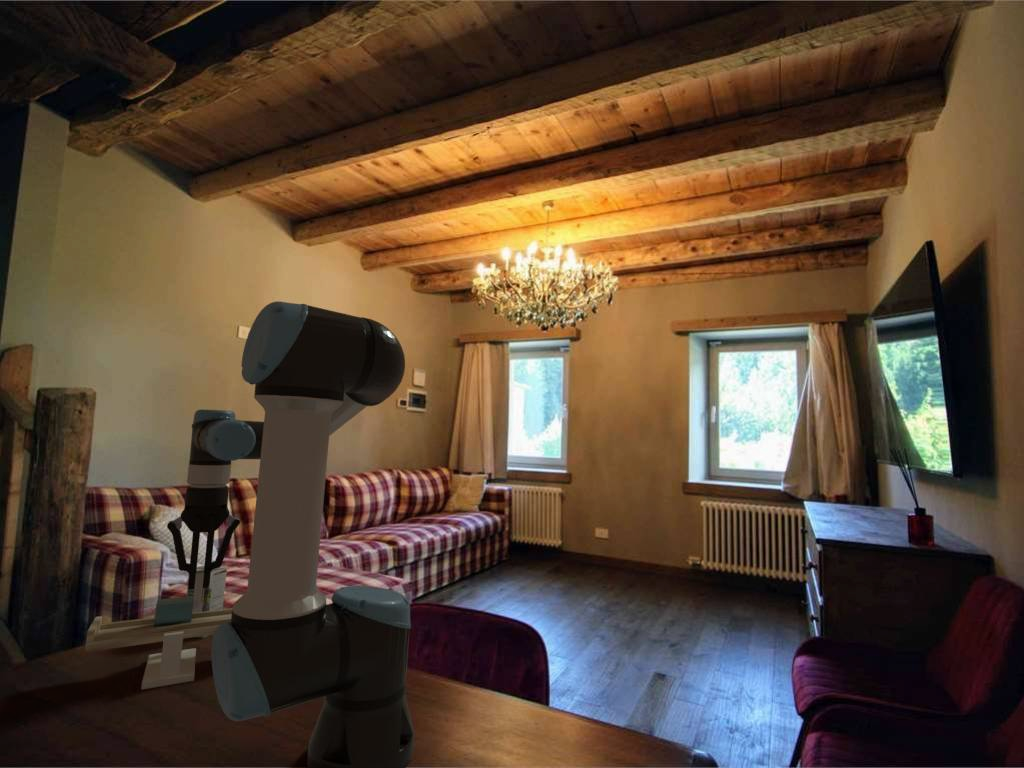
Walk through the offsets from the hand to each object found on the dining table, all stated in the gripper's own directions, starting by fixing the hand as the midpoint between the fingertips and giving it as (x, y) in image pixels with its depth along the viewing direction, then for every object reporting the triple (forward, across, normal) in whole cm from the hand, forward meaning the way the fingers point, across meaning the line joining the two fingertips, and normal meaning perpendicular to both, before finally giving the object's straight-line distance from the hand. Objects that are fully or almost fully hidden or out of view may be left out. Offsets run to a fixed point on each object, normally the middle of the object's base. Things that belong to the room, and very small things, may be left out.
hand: (196, 605), depth 102 cm
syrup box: (+12, -1, -19) cm, 22 cm away
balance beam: (+8, +3, 0) cm, 8 cm away
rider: (+3, +4, 0) cm, 5 cm away
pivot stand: (+12, +3, 0) cm, 12 cm away
